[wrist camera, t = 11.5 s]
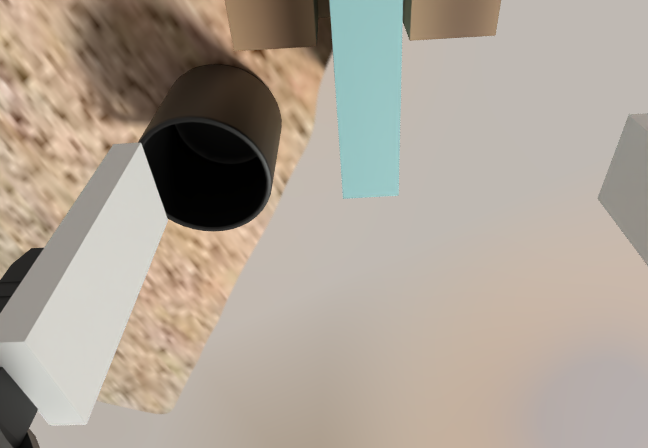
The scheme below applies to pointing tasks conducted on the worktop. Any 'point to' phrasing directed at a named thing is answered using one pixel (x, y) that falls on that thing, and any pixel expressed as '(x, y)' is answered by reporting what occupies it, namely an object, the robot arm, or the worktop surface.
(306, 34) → the walnut u-shaped block
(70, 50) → the worktop surface
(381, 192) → the teal flat block
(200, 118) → the mug
